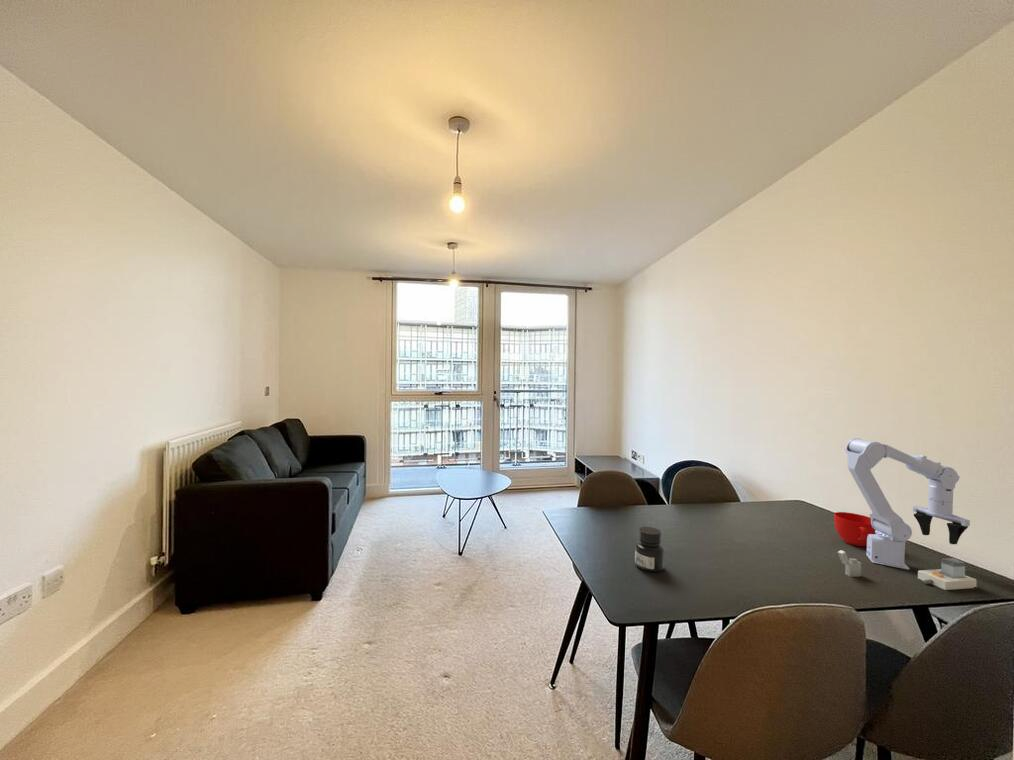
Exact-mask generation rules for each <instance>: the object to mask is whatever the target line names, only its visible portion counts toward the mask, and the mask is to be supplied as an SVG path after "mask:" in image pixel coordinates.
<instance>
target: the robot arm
mask: <svg viewBox="0 0 1014 760" xmlns="http://www.w3.org/2000/svg"><path fill="white" fill-rule="evenodd" d="M844 450H845V453H846V454H847V468H848V471H849V472H850V475H851V476H852V478H853V480H854V481H855V483H856V485H857V487H858V488H859V490H860V492H861V494H862V495H863V498H864V500H865V501H866V503H867V505H868V507H869V509H870V510H871V512H870V513H869V514H868V517H870V518H871V525H872V527H873V528H874V529H875V533H876V534H868V536H867V545H866V554H865V555H866V557H867V558H868V559H869V560H870V562H871V563H874V564H878V565H882V566H883V565H884V566H888V567H893V568H898V569H903V570H907V571H908V570H910V567H909V566H908V565H907V564H906V563H905V552H906V550H905V548H906V543H907V541H908V540H909V539H910V538H911V537H912V536H913V530H912V527H911V526H910V525H908V524H907V523H905V521H904V520H903V518H902V517H901V516H900V515H899V514H897V513H896V512H895V511H894V510H893V508H892V506H891V504H890V503H889V501H888V500H887V498H886V496H885V494H884V492H883V491H882V489H881V487H880V485H879V483H878V482H877V479H876V478H875V476H874V474H873V472H872V469H873V468H874V467H875V466H876V465H877V464H878V463H880V461H882V460H883V459H887V458H890V459H891V460H894V461H897V462H899V463H902V464H905V467H906V468H907V469H908V470H910V471H912V472H914V473H916V474H918V475H921V476H924V477H925V478H926V479H928V494H927V495H928V498H927V507H924V506H918V505H913V506H912V512H913V517H914V518H915V520H916V521H917V523H918V525H919V528H920V531H921V534H922V535H923V536H930V534H931V522H932V520H933V518H936V519H941V520H944V521H947V523H946V526H947V529H948V536H949V537H948V542H949V544H950V545H958V542H959V540H960V537H961V536H962V534H963V533H964V532H965V531H966V530H967V529H968V528H969V527H970V525H971V524H970V523H971V520H970V519H966V518H964V517H960V516H958V515H955V514H953V513H954V512H953V508H954V507H953V504H954V490H955V488H956V484H957V483H958V482H959V481H960V478H961V477H960V475H959V474H958V472H957V471H956V470H955V469H954V468H953V467H949V466H945V465H942V464H941V462H940V461H936V460H935V461H933V460H931V459H928V457H927V456H926V455H924V454H915V455H914V454H912V455H910V454H907V453H905V452H903V451H901V450H899V449H897V448H895V447H892V446H891V445H888V444H884V443H881V442H878V441H872V440H865V439H861V438H858V437H856V438H855V437H854V438H852V439H850V440H849V441H848V442H847V443H846V446H845V447H844Z"/></svg>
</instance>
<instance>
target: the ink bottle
mask: <svg viewBox="0 0 1014 760" xmlns="http://www.w3.org/2000/svg"><path fill="white" fill-rule="evenodd" d="M638 532H639V533H638V534H639V535H638V540H639V541H637V542H636V543H635V549H634V563H635V566H636V567H637V568H639V569H640V570H642V571H645V572H648V573H657V572H658V573H659V572H661V571H663V570H664V568H665V567H664V564H665V563H664V561H665V557H664V556H665V549H664V547H663V546H662V545H661V542H662V541H661V540H662V539H661V538H662V532H661V530H660V529H658V528H656V527H653V526H642V527H639V531H638Z"/></svg>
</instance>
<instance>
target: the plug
mask: <svg viewBox="0 0 1014 760" xmlns="http://www.w3.org/2000/svg"><path fill="white" fill-rule="evenodd" d="M940 565H941V568H940V569H941V574H943V575H945V576H948V577H950V578H953V579H954V578H965V574H966V562H964V561H961V560H960V559H956V558H953V557H952V558H950V557H949V558H941V564H940Z"/></svg>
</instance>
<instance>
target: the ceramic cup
mask: <svg viewBox="0 0 1014 760" xmlns="http://www.w3.org/2000/svg"><path fill="white" fill-rule="evenodd" d="M833 521H834V526H835V530H836V532H837V534H838V536H839V537H840V538H841V539H842V540H843V542H845V543H847V544H848V545H852V546H856V547H867V536H868V534H876V533H875V529H874V528H873V527H872V525H871V518H870V516H866V515H863V514H858V513H855V512H854V513H853V512H845V511H838V512H834V514H833Z"/></svg>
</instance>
